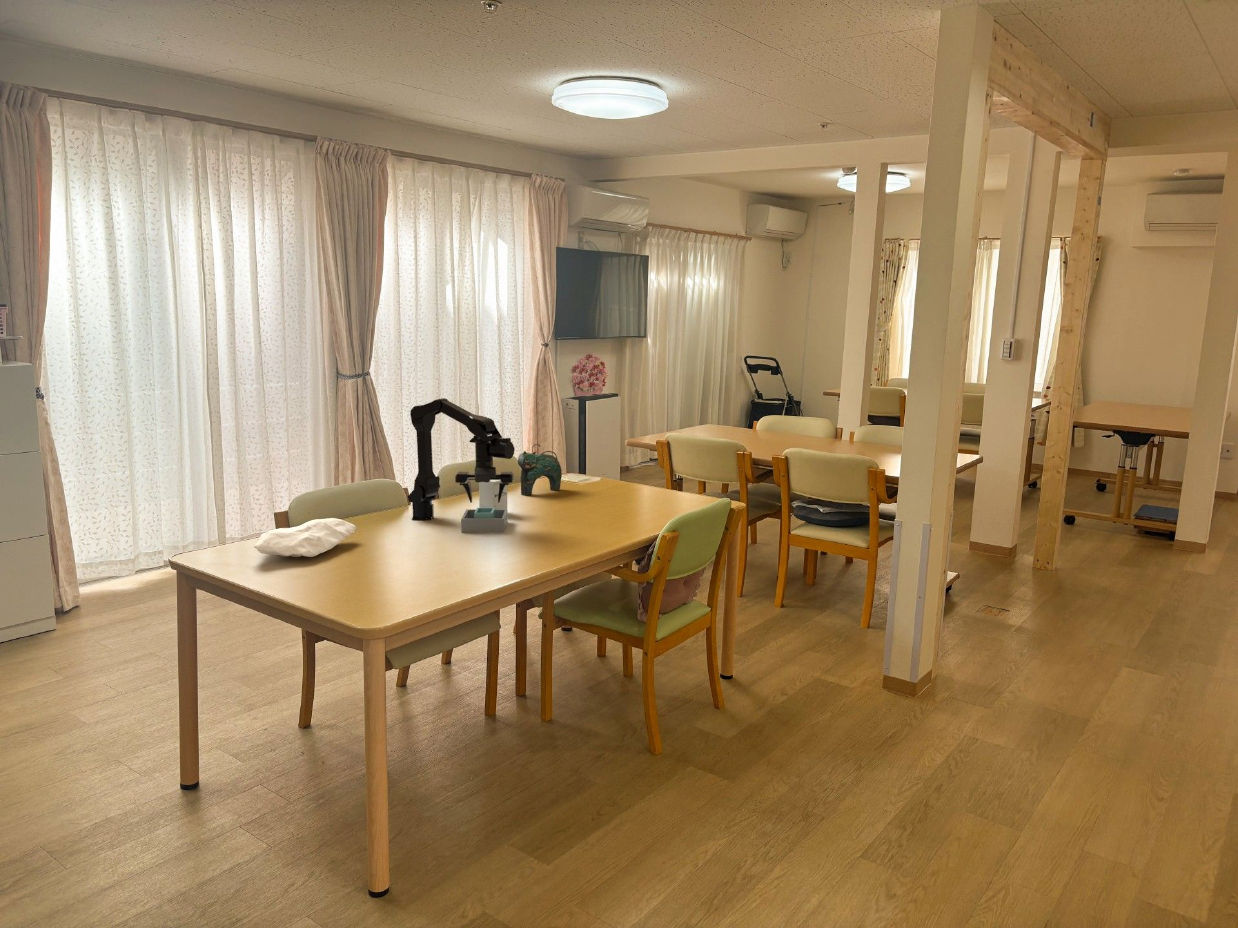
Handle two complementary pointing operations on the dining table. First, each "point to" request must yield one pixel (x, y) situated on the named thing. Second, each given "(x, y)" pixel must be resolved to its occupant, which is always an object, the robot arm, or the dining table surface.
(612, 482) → the dining table surface
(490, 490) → the supplement box
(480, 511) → the teal crate
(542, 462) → the ceramic cat
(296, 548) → the crumpled cloth
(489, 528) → the grey crate
